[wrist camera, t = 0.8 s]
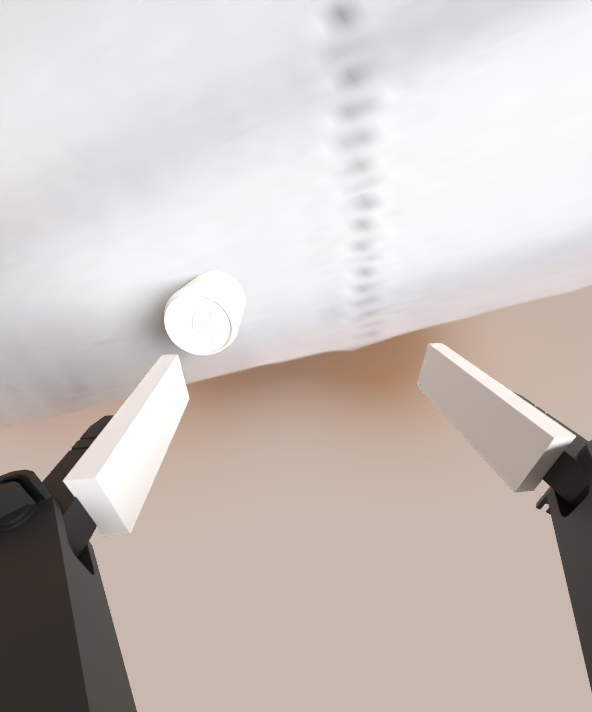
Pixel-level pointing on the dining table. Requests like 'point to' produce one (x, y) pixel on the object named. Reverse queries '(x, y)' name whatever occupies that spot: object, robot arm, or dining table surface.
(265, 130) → the dining table surface
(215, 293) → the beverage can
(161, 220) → the dining table surface
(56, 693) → the robot arm
